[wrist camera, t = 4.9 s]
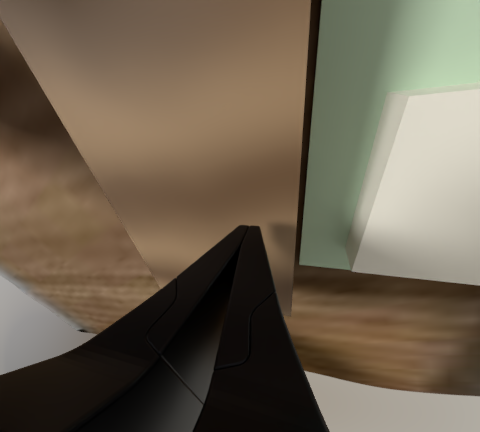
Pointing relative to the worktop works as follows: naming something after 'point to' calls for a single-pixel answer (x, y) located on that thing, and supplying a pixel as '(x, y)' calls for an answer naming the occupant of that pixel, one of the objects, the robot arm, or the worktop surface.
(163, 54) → the brown wooden block
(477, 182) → the cream white eraser block
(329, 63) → the mat
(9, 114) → the worktop surface
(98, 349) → the robot arm
